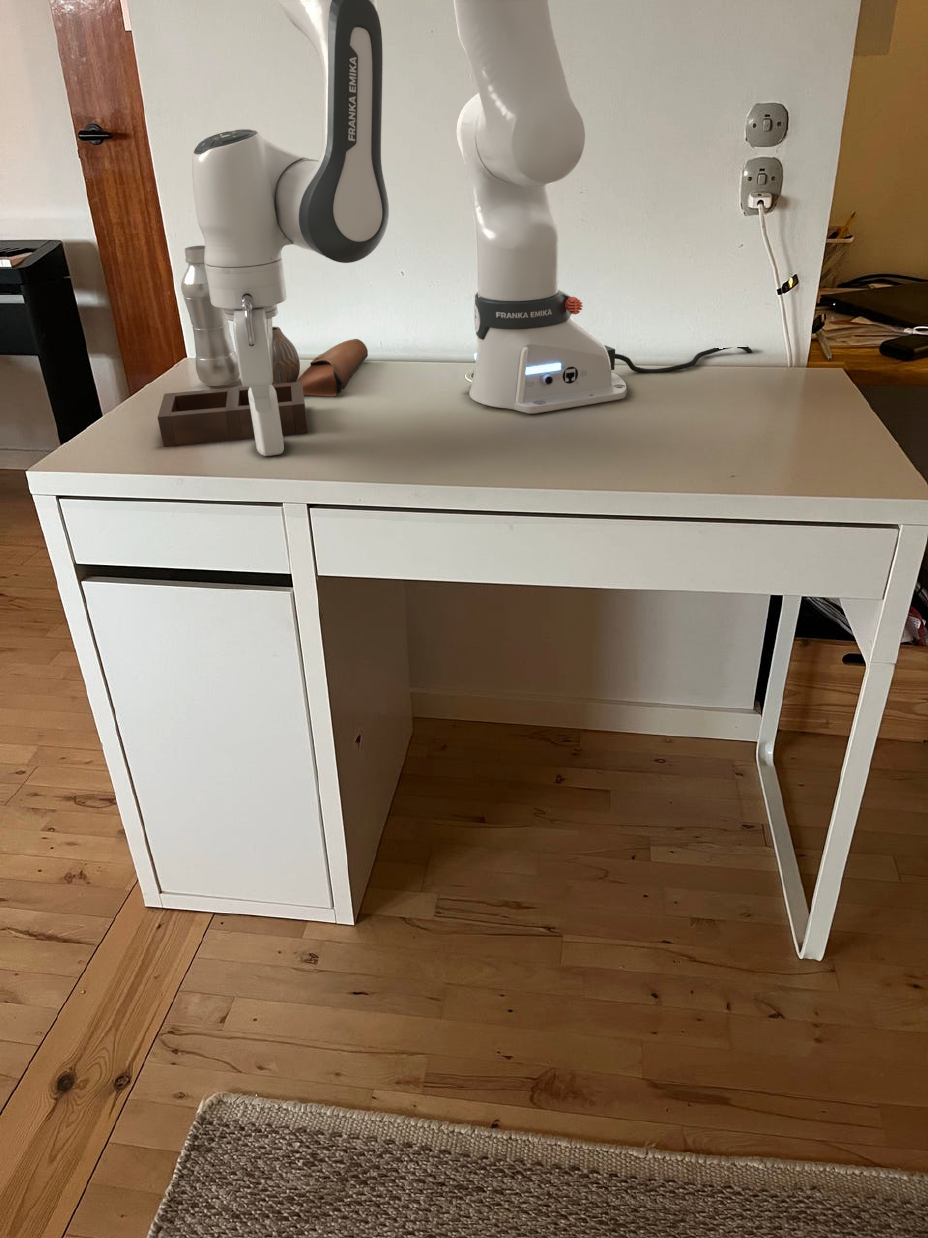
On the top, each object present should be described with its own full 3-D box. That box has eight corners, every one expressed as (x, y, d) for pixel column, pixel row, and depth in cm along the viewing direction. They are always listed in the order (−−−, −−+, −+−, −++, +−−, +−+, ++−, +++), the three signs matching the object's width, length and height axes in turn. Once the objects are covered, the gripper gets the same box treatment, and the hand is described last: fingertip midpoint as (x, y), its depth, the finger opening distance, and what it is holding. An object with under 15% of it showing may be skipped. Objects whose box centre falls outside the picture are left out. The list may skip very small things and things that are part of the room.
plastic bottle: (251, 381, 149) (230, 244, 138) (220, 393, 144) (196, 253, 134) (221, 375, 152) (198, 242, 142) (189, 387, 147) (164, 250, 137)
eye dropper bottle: (246, 456, 121) (230, 362, 114) (263, 441, 125) (248, 349, 119) (278, 458, 120) (264, 362, 114) (294, 442, 124) (281, 349, 118)
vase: (293, 394, 142) (285, 334, 138) (249, 393, 143) (240, 334, 139) (308, 380, 148) (301, 322, 143) (266, 379, 149) (258, 322, 145)
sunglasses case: (317, 358, 156) (334, 322, 153) (356, 380, 157) (373, 345, 154) (287, 393, 141) (305, 354, 138) (330, 416, 142) (349, 378, 139)
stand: (305, 409, 136) (301, 381, 134) (308, 432, 127) (304, 403, 125) (169, 421, 133) (164, 393, 131) (163, 446, 125) (157, 416, 123)
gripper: (275, 303, 104) (291, 426, 111) (273, 268, 121) (287, 376, 128) (215, 307, 103) (235, 431, 110) (222, 271, 120) (239, 380, 127)
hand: (263, 401), depth 119 cm, fingers closed on eye dropper bottle, 5 cm apart
